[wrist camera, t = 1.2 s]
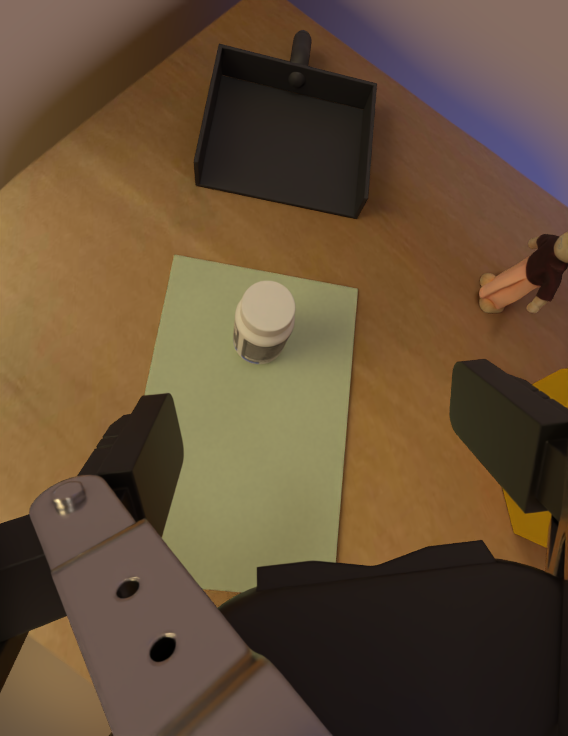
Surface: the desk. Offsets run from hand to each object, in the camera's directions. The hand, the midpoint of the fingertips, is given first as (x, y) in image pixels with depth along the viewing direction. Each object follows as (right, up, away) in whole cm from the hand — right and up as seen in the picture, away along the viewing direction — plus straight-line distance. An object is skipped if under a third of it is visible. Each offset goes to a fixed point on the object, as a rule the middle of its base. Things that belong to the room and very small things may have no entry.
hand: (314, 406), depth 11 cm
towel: (-4, -3, +24) cm, 25 cm away
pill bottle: (-3, +4, +26) cm, 26 cm away
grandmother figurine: (+21, +8, +31) cm, 38 cm away
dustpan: (0, +28, +32) cm, 43 cm away
